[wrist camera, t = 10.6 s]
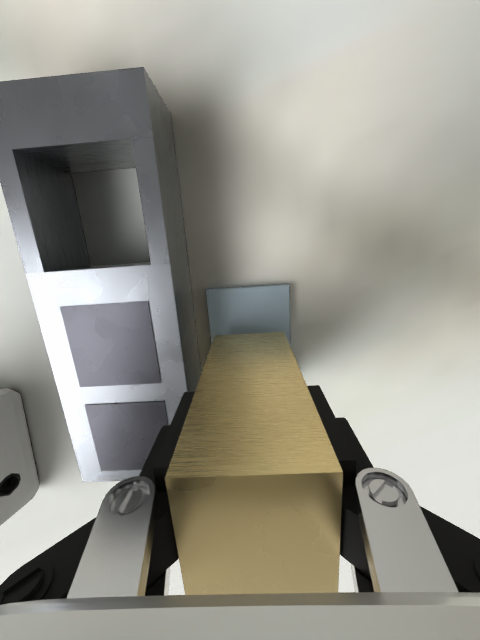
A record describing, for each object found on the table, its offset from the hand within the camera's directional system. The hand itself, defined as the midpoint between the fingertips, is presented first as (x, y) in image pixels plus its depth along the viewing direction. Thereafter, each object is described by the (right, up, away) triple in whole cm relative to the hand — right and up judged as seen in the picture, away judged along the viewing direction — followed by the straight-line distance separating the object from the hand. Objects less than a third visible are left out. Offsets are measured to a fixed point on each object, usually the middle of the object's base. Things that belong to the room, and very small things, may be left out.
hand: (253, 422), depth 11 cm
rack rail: (-7, +5, +6) cm, 11 cm away
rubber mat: (0, +2, +7) cm, 7 cm away
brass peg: (0, +1, +5) cm, 5 cm away
